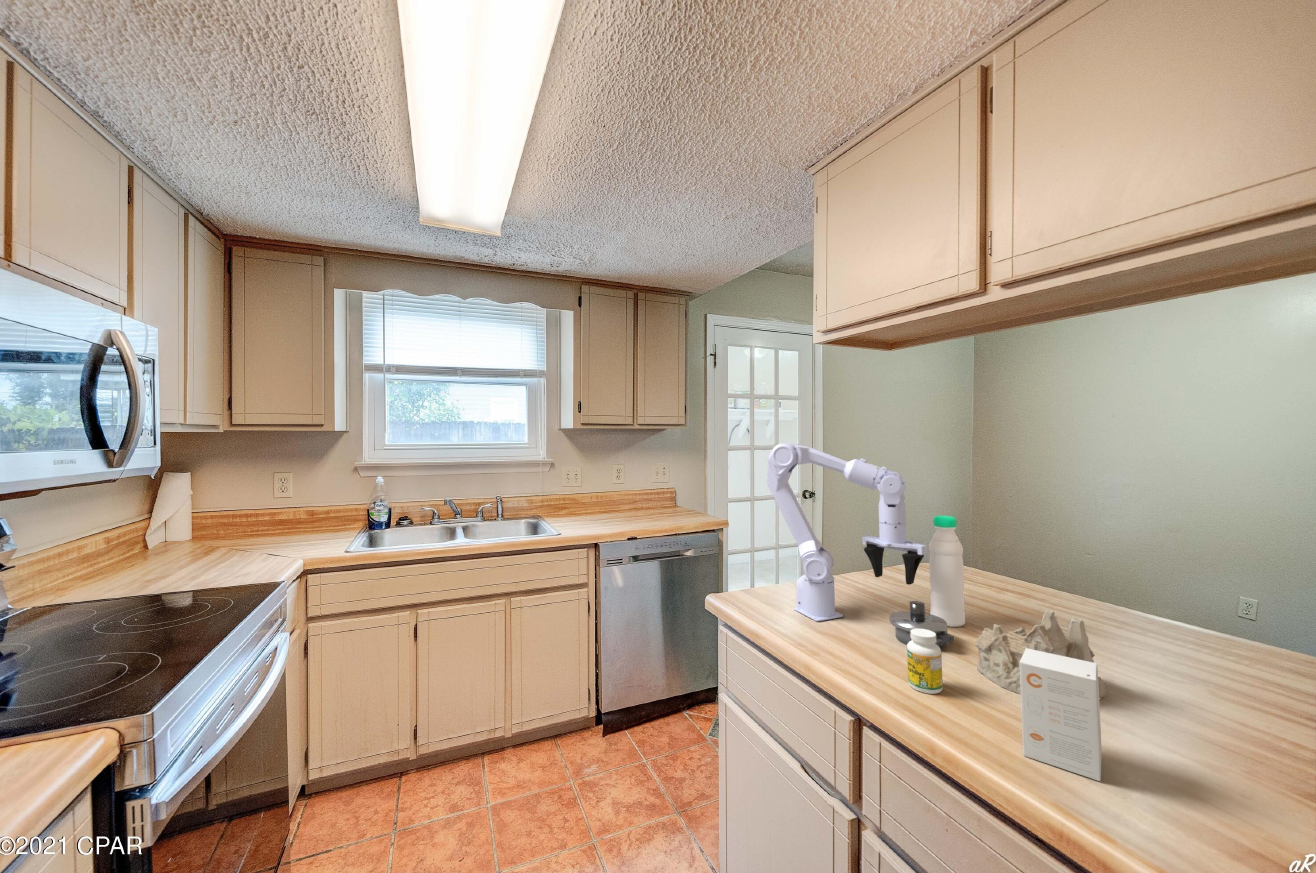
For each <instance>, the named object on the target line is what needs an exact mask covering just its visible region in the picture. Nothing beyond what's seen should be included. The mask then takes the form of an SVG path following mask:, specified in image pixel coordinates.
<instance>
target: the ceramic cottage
mask: <svg viewBox="0 0 1316 873" xmlns="http://www.w3.org/2000/svg"><path fill="white" fill-rule="evenodd" d="M1085 626H1086V625H1085V622H1084V620H1083V619H1080V618H1077V617H1072V618H1071V619H1070V621H1069V627H1064V626H1061V625H1059V622H1058V619H1057V616H1055V611H1053V610H1049V609H1046V610H1045V611H1044V613H1043V616H1042V619H1041V623H1040V624H1035V625H1034V626H1032V629H1031V630H1030V631H1028V632H1026V629H1025V628H1024V627H1023V626H1022V627H1020V628H1018V629H1015V630H1013V631H1008V633H1003V629H1002V626H1001V624H996V623H993V629H990V628H989V627H984V629H983V631H981V634H980V635H979V636H978V638H977V639H976V640H975V647H976V648H977V651H978V652H977V653H978V657H979V661H978V662H977V671H978V672H979V673H980V674H982V675H983V676H984V677H985V678H987V679H989V680H991V682H992V683H994V684H995V685H997V686H998V685H999V687H1000V686H1001V688H1004V689H1007V691H1009V692H1014V693H1016V694H1017V695H1020V696H1021V685H1020V664H1019V662H1020V660H1021V658H1022V656H1023V653H1024V651H1025V649H1026V648H1028V649H1032V650H1037V651H1042V652H1046V653H1051V654H1056V655H1060V656H1065V657H1070V658H1074V659H1079V660H1084V661H1088V662H1093V663H1095V660H1094V657H1095V656H1096V655H1095V654H1094V652H1093V650H1091V647H1090V645H1089V637H1088V635H1087V633H1086V627H1085ZM1098 683H1099V698H1102V697H1105V698H1106V696H1108V693H1107V690H1106V686H1105V683H1104V680H1102V678H1101V677H1100V676H1098ZM1102 699H1103V698H1102Z"/></svg>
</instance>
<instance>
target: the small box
mask: <svg viewBox="0 0 1316 873" xmlns="http://www.w3.org/2000/svg"><path fill="white" fill-rule="evenodd" d="M1019 664H1020V685H1021V695H1020V704H1021V705H1020V706H1021V708H1020V710H1021V730H1022V734H1021V735H1022V750H1023V751H1022V752H1023V756H1024V757H1026V758H1029V759H1032V760H1036V761H1039V762H1041V763H1044V764H1047V765H1050V766H1053V767H1056V768H1060V769H1063V770H1065V771H1068V772H1071V773H1074V774H1078V775H1080V776H1083V777H1085V778H1087V779H1088V778H1089V779H1092V780H1095V781H1098V782H1101V779H1102V755H1103V754H1102V737H1101V736H1102V727H1101V726H1102V725H1101V724H1102V723H1101V708H1100V705H1101V704H1100V699H1099V683H1098V677H1099V669H1098V663H1097V662H1094V663H1093V662H1088V661H1084V660H1079V659H1074V658H1070V657H1065V656H1060V655H1056V654H1051V653H1046V652H1042V651H1037V650H1032V649H1028V648H1026V649H1025V651H1024V653H1023V656H1022V658H1021V660H1020V662H1019Z"/></svg>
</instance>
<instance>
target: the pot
mask: <svg viewBox="0 0 1316 873" xmlns="http://www.w3.org/2000/svg"><path fill="white" fill-rule="evenodd" d="M894 628H895V629H894V630H895V638H896V640H897V641H898V642H900V643H902V644H904V645H906V646H907V644H908V643H909V642H910V641H912V639H911V637H910V633H911V632H907V631H904V630H901V629H899V628H896V627H895V626H894ZM952 642H955V635H952V634H949V632H948V628H947V631H946V632H944V633H941V634H936V643H935V644H936V645H938V646H939V647H940V649H941V650H943V649H945V648H947V647H948V646H949V643H952Z"/></svg>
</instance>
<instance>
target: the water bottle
mask: <svg viewBox="0 0 1316 873" xmlns="http://www.w3.org/2000/svg"><path fill="white" fill-rule="evenodd" d="M932 520H933V521H932V522H933V526H934V528H935V532H934V533H933V535H932V538H931V540H930V541H929V543H928V550H929V557H928V558H929V559H928V560H929V562H928V565H929V584H930V593H929V598H930V614H932V615H935V616H938V617H940V618H942V619H944V620H945V621H946V622H947V627H950V628H951V627H952V628H960V627H962V626H964V625H965V624H966V613H965V606H966V605H965V604H966V603H965V602H966V601H965V595H964V588H965V587H964V586H965V573H964V572H965V569H964V559H963V553H964V548H963V547H964V546H963V544H962V543H961V541H960V540H959V537H958V536H957V534H956V532H955V531H956V529H957V522H958V521H957V518H956V517H954V516H950V515H935V516H934V517H933V519H932Z"/></svg>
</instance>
